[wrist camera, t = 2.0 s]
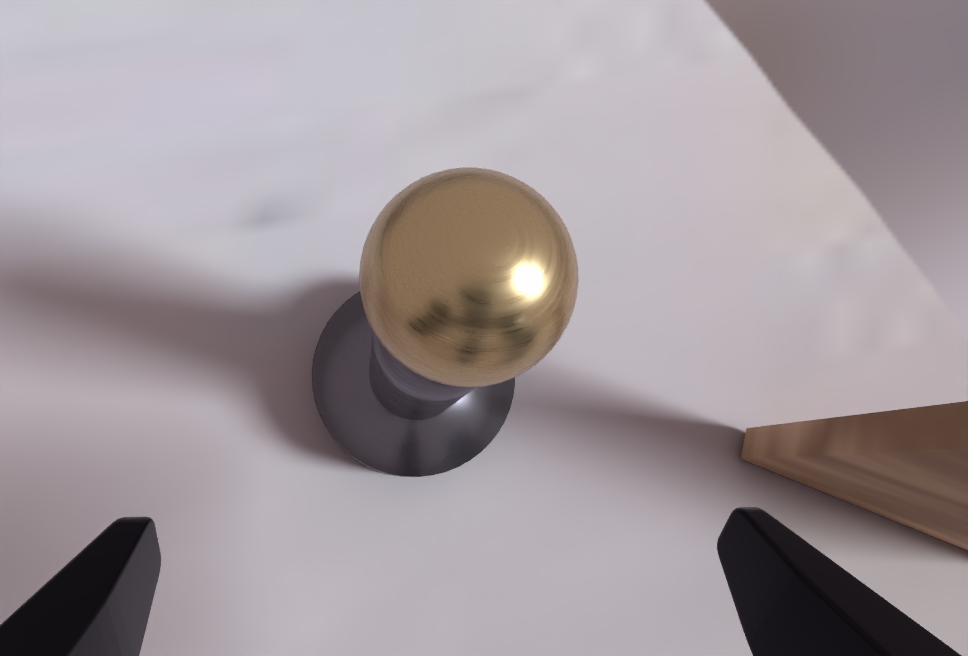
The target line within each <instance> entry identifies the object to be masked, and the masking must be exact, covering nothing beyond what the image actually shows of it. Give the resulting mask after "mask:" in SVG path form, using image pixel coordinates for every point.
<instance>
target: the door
mask: <svg viewBox="0 0 968 656" xmlns="http://www.w3.org/2000/svg"><path fill="white" fill-rule="evenodd" d="M740 459H743V460H745V461H748V462H750V463H753V464H755V465H758V466H760V467H763V468H765V469H767V470H770V471H772V472H775V473H777V474H780V475H782V476H785V477H787V478H790V479H792V480H795V481H797V482H800V483H802V484H805V485H807V486H810V487H812V488H815V489H817V490H820V491H822V492H824V493H827V494H829V495H832V496H834V497H837V498H839V499H842V500H844V501H847V502H849V503H852V504H854V505H857V506H859V507H862V508H864V509H867V510H869V511H872V512H874V513H876V514H879V515H881V516H884V517H886V518H889V519H891V520H894V521H896V522H899V523H901V524H904V525H906V526H909V527H911V528H914V529H916V530H919V531H921V532H924V533H926V534H929V535H931V536H933V537H936V538H938V539H941V540H943V541H946V542H948V543H951V544H953V545H956V546H958V547H961V548H963V549H966V550H968V401H966V402H958V403H950V404H941V405H933V406H925V407H917V408H909V409H901V410H892V411H884V412H876V413H868V414H860V415H852V416H843V417H835V418H827V419H819V420H811V421H803V422H794V423H786V424H778V425H770V426H762V427H754V428H747V429H746V434H745V438H744V443H743V448H742V453H741V458H740Z"/></svg>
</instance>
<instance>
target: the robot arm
mask: <svg viewBox="0 0 968 656" xmlns="http://www.w3.org/2000/svg"><path fill="white" fill-rule="evenodd" d="M717 550H718V555H719V558H720V561H721V564H722V567H723V570H724V574H725V577H726V580H727V583H728V586H729V589H730V592H731V595H732V598H733V601H734V604H735V607H736V610H737V613H738V616H739V619H740V622H741V625H742V628H743V631H744V633H745V636H746V639H747V642H748V644H749V647H750V649H751V652H752V654H753V656H961V655H960V654H958V653H957V652H956V651H954V650H953V649H952V648H950V647H949V646H948V645H946V644H945V643H943V642H942V641H941V640H939V639H938V638H937V637H935V636H934V635H933V634H931V633H930V632H929V631H927V630H926V629H924V628H923V627H922V626H920V625H919V624H918V623H916V622H915V621H914V620H912V619H911V618H909V617H908V616H907V615H905V614H904V613H903V612H901V611H900V610H899V609H897V608H896V607H895V606H893V605H892V604H890V603H889V602H888V601H886V600H885V599H884V598H882V597H881V596H880V595H878V594H877V593H875V592H874V591H873V590H871V589H870V588H869V587H867V586H866V585H865V584H863V583H862V582H861V581H859V580H858V579H856V578H855V577H854V576H852V575H851V574H850V573H848V572H847V571H846V570H844V569H843V568H841V567H840V566H839V565H837V564H836V563H835V562H833V561H832V560H831V559H829V558H828V557H827V556H825V555H824V554H822V553H821V552H820V551H818V550H817V549H816V548H814V547H813V546H812V545H810V544H809V543H807V542H806V541H805V540H803V539H802V538H801V537H799V536H798V535H797V534H795V533H794V532H792V531H791V530H790V529H788V528H787V527H786V526H784V525H783V524H782V523H780V522H779V521H778V520H776V519H775V518H773V517H772V516H771V515H769V514H768V513H767V512H765V511H764V510H762V509H760V508H756V507H743V508H736V509H735V510H733V511H732V513H731V515H730V517H729V519H728V520H727V522H726V524H725V526H724V528H723V530H722V532H721V534H720V536H719V538H718V542H717ZM160 567H161V553H160V548H159V543H158V538H157V533H156V528H155V524H154V521H153V520H152V519H151V518H150V517H123V518H119V519H117V520H116V521H114V522H113V523H112V524H111V525H110V526H109V527H107V528H106V529H105V530H104V531H103V532H102V533H101V534H100V535H99V536H98V537H96V538H95V539H94V540H93V541H92V542H91V543H90V544H89V545H88V546H87V547H85V548H84V549H83V550H82V551H81V552H80V553H79V554H78V555H77V556H76V557H74V558H73V559H72V560H71V561H70V562H69V563H68V564H67V565H66V566H65V567H64V568H62V569H61V570H60V571H59V572H58V573H57V574H56V575H55V576H54V577H53V578H51V579H50V580H49V581H48V582H47V583H46V584H45V585H44V586H43V587H42V588H40V589H39V590H38V591H37V592H36V593H35V594H34V595H33V596H32V597H31V598H29V599H28V600H27V601H26V602H25V603H24V604H23V605H22V606H21V607H20V608H19V609H17V610H16V611H15V612H14V613H13V614H12V615H11V616H10V617H9V618H8V619H6V620H5V621H4V622H3V623H2V624H1V625H0V656H139V654H140V650H141V646H142V642H143V638H144V634H145V630H146V626H147V622H148V617H149V613H150V609H151V605H152V601H153V597H154V593H155V589H156V585H157V581H158V577H159V573H160Z"/></svg>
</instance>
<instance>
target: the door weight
mask: <svg viewBox="0 0 968 656" xmlns="http://www.w3.org/2000/svg"><path fill="white" fill-rule="evenodd" d="M359 283H360V292H358V293H357V294H355V295H354V296H352V297H351V298H350V299H349V300H347V301H346V302H345V303H344V304H343V305H342V306H341V307H340V308H339V309H338V310H337V311H336V312H335V313H334V315H333V316H332V318H331V319H330V320H329V322H328V323H327V325H326V327H325V328H324V330H323V332H322V334H321V336H320V339H319V342H318V344H317V347H316V351H315V355H314V359H313V369H312V383H313V392H314V397H315V402H316V405H317V408H318V411H319V414H320V416H321V418H322V420H323V422H324V424H325V426H326V428H327V429H328V431H329V432H330V434H331V435H332V436H333V438H334V439H335V441H336V442H337V443H338V444H339V445H340V447H341V448H342V449H343V450H344V451H345V452H346V453H348V454H349V455H350V456H351V457H352V458H354V459H355V460H356V461H358V462H360V463H361V464H363V465H364V466H367V467H369V468H371V469H373V470H375V471H378V472H382V473H385V474H388V475H395V476H406V477H420V476H429V475H435V474H439V473H443V472H446V471H449V470H451V469H454V468H456V467H459V466H461V465H462V464H464V463H466V462H468V461H469V460H471V459H472V458H474V457H475V456H476V455H477V454H479V453H480V452H481V451H482V450H483V449H484V448H485V447H486V446H487V445H488V444H489V443H490V442H491V441H492V440H493V438H494V437H495V436H496V434H497V433H498V432H499V430H500V428H501V427H502V425H503V423H504V421H505V419H506V417H507V414H508V412H509V410H510V406H511V402H512V399H513V393H514V386H515V377H516V376H518V375H520V374H522V373H524V372H526V371H528V370H529V369H530V368H532V367H533V366H534V365H536V364H537V363H538V362H539V361H541V360H542V359H543V358H544V357H545V356H546V355H547V354H548V353H549V352H550V351H551V350H552V349H553V347H554V346H555V345H556V343H557V342H558V341H559V339H560V338H561V336H562V334H563V333H564V331H565V329H566V327H567V325H568V323H569V321H570V318H571V316H572V313H573V310H574V306H575V302H576V298H577V289H578V264H577V258H576V253H575V250H574V246H573V243H572V240H571V237H570V235H569V233H568V230H567V228H566V226H565V224H564V223H563V221H562V219H561V217H560V216H559V215H558V213H557V212H556V211H555V209H554V208H553V207H552V206H551V204H550V203H549V202H548V201H547V200H546V199H545V198H544V197H543V196H542V195H540V194H539V193H538V192H537V191H536V190H534V189H533V188H531V187H530V186H528V185H527V184H525V183H524V182H522V181H520V180H518V179H516V178H514V177H512V176H509V175H507V174H504V173H501V172H498V171H493V170H489V169H482V168H456V169H449V170H444V171H440V172H436V173H433V174H430V175H428V176H425V177H423V178H421V179H419V180H417V181H415V182H414V183H412V184H410V185H409V186H407V187H406V188H405V189H403V190H402V191H401V192H399V193H398V194H397V195H396V196H395V197H394V198H393V199H392V200H391V201H390V202H389V203H388V204H387V205H386V206H385V207H384V209H383V210H382V211H381V212H380V214H379V215H378V217H377V218H376V220H375V222H374V223H373V225H372V227H371V229H370V231H369V233H368V236H367V238H366V241H365V244H364V247H363V252H362V256H361V261H360V272H359Z"/></svg>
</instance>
